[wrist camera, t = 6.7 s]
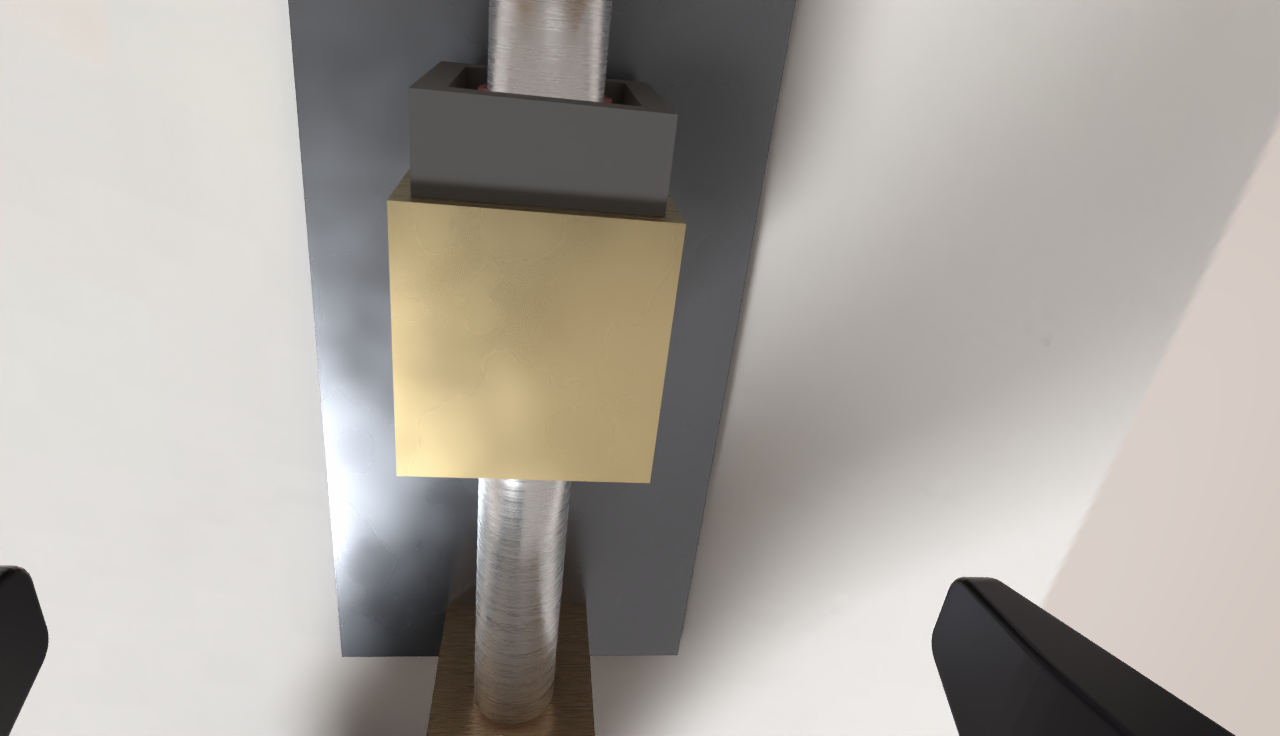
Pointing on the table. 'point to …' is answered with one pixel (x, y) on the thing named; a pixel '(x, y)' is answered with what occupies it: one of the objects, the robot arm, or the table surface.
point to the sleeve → (529, 338)
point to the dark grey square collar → (539, 145)
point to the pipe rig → (363, 367)
